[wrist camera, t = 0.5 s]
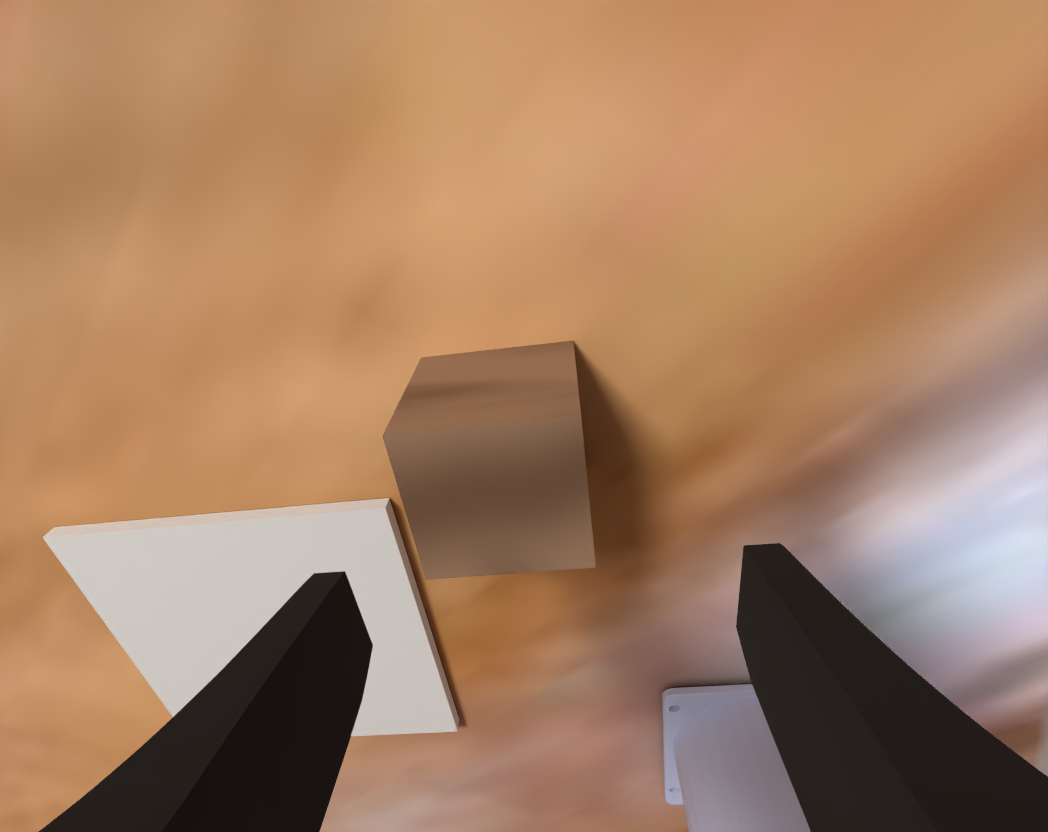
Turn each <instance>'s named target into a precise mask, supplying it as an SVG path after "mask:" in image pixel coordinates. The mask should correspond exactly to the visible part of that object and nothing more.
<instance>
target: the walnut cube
mask: <svg viewBox="0 0 1048 832" xmlns="http://www.w3.org/2000/svg"><path fill="white" fill-rule="evenodd" d="M383 439H384V442H385V445H386V449H387V452H388V455H389V459H390V462H391V465H392V469H393V472H394V475H395V479H396V482H397V485H398V489H399V492H400V495H401V499H402V502H403V505H404V508H405V512H406V515H407V518H408V522H409V525H410V528H411V532H412V535H413V538H414V542H415V545H416V548H417V552H418V555H419V558H420V562H421V565H422V568H423V571H424V575H425V578H426V580H427V579H442V578H456V577H470V576H484V575H498V574H512V573H527V572H541V571H555V570H569V569H583V568H596V564H595V553H594V543H593V532H592V522H591V512H590V501H589V491H588V480H587V470H586V460H585V449H584V439H583V429H582V418H581V409H580V399H579V389H578V380H577V370H576V361H575V351H574V342H573V341H567V342H558V343H549V344H540V345H531V346H522V347H513V348H504V349H495V350H486V351H477V352H468V353H459V354H450V355H441V356H432V357H423V358H421V359H420V361H419V363H418V365H417V367H416V369H415V372H414V374H413V376H412V378H411V380H410V382H409V384H408V386H407V388H406V390H405V392H404V394H403V396H402V398H401V400H400V402H399V404H398V406H397V408H396V410H395V412H394V414H393V416H392V418H391V420H390V422H389V424H388V426H387V428H386V430H385V432H384V434H383Z"/></svg>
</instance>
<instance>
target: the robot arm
mask: <svg viewBox="0 0 1048 832" xmlns="http://www.w3.org/2000/svg"><path fill="white" fill-rule="evenodd" d="M736 627H737V631H738V635H739V639H740V642H741V646H742V650H743V654H744V657H745V661H746V664H747V668H748V671H749V675H750V678H751V682H752V684H742V685H722V686H702V687H683V688H670V689H667V690H665V691H664V692H663V694H662V718H663V763H664V795H665V800H666V802H668V803H669V804H674V805H677V804H684V809H685V814H686V819H687V825H688V830H689V832H1048V777H1047V776H1046V775H1045V774H1043V773H1042V772H1040V771H1039V770H1038V769H1036V768H1035V767H1034V766H1032V765H1031V764H1030V763H1028V762H1027V761H1026V760H1024V759H1023V758H1022V757H1020V756H1019V755H1018V754H1016V753H1015V752H1014V751H1013V750H1011V749H1010V748H1009V747H1007V746H1006V745H1005V744H1003V743H1002V742H1001V741H999V740H998V739H997V738H995V737H994V736H993V735H992V734H990V733H989V732H988V731H987V730H985V729H984V728H983V727H982V726H980V725H979V724H978V723H976V722H975V721H974V720H973V719H971V718H970V717H969V716H968V715H967V714H965V713H964V712H963V711H962V710H960V709H959V708H958V707H957V706H956V705H954V704H953V703H952V702H951V701H949V700H948V699H947V698H946V697H945V696H944V695H942V694H941V693H940V692H939V691H938V690H936V689H935V688H934V687H933V686H932V685H931V684H929V683H928V682H927V681H926V680H925V679H923V678H922V677H921V676H920V675H919V674H918V673H916V672H915V671H914V670H913V669H912V668H911V667H910V666H908V665H907V664H906V663H905V662H904V661H903V660H902V659H901V658H899V657H898V656H897V655H896V654H895V653H894V652H893V651H892V650H891V649H889V648H888V647H887V646H886V645H885V644H884V643H883V642H882V641H881V640H880V639H879V638H878V637H876V636H875V635H874V634H873V633H872V632H871V631H870V630H869V629H868V628H867V627H866V626H864V625H863V624H862V623H861V622H860V621H859V620H858V619H857V618H856V617H855V616H854V615H853V614H852V613H851V612H850V611H849V610H848V609H846V608H845V607H844V606H843V605H842V604H841V603H840V602H839V601H838V600H837V599H836V598H835V597H834V596H833V595H832V594H831V593H830V592H829V591H828V590H827V589H826V588H825V587H824V586H823V585H822V584H821V583H820V582H819V581H818V580H817V579H816V578H815V577H814V576H813V575H812V574H811V573H810V572H809V571H808V570H807V569H806V568H805V567H804V566H803V565H802V564H801V563H800V562H799V561H798V560H797V559H796V558H795V557H794V556H793V555H792V554H791V553H790V552H789V551H788V550H787V549H786V548H785V547H784V546H783V545H781V544H780V543H777V544H762V545H746V546H744V548H743V559H742V570H741V581H740V592H739V603H738V614H737V625H736ZM372 648H373V644H372V641H371V639H370V636H369V634H368V631H367V628H366V626H365V623H364V620H363V618H362V615H361V612H360V610H359V607H358V604H357V602H356V599H355V596H354V594H353V591H352V588H351V586H350V583H349V580H348V578H347V575H346V572H345V571H342V572H326V573H314V574H313V575H312V576H311V577H310V578H309V579H308V580H307V581H306V582H305V583H304V584H303V585H302V586H301V587H300V588H299V589H298V590H297V591H296V592H295V593H294V594H293V595H292V596H291V597H290V598H289V600H288V601H287V602H286V603H285V604H284V605H283V606H282V607H281V608H280V609H279V610H278V611H277V612H276V613H275V615H274V616H273V617H272V618H271V619H270V620H269V621H268V622H267V623H266V624H265V625H264V626H263V627H262V628H261V629H260V631H259V632H258V633H257V634H256V635H255V636H254V637H253V638H252V639H251V640H250V641H249V642H248V643H247V644H246V645H245V646H244V647H243V648H242V649H241V650H240V651H239V652H238V653H237V654H236V656H235V657H234V658H233V659H232V660H231V661H230V662H229V663H228V664H227V665H226V666H225V667H224V668H223V669H222V670H221V671H220V672H219V673H218V674H217V675H216V676H215V677H214V678H213V679H212V680H211V681H210V682H209V683H208V684H207V685H206V686H205V687H204V688H203V689H202V690H201V691H200V692H199V693H198V694H196V695H195V696H194V697H193V698H192V699H191V700H190V701H189V702H188V703H187V704H186V705H185V706H184V707H183V708H182V709H181V710H180V711H179V712H178V713H177V714H176V715H175V716H174V717H173V718H172V719H171V720H170V721H169V722H168V723H167V724H166V725H165V726H164V727H162V728H161V729H160V730H159V731H158V732H157V733H156V734H155V735H154V736H153V737H152V738H150V739H149V740H148V741H147V742H146V743H145V744H144V745H143V746H142V747H140V748H139V749H138V750H137V751H136V752H135V753H134V754H133V755H131V756H130V757H129V758H128V759H127V760H126V761H125V762H123V763H122V764H121V765H120V766H119V767H118V768H116V769H115V770H114V771H113V772H112V773H111V774H109V775H108V776H107V777H106V778H105V779H104V780H102V781H101V782H100V783H99V784H98V785H97V786H95V787H94V788H93V789H92V790H91V791H89V792H88V793H87V794H86V795H85V796H83V797H82V798H81V799H80V800H79V801H77V802H76V803H75V804H74V805H72V806H71V807H70V808H68V809H67V810H66V811H65V812H63V813H62V814H61V815H60V816H58V817H57V818H56V819H54V820H53V821H52V822H51V823H49V824H48V825H47V826H45V827H44V828H43V829H42V830H40V831H39V832H319V831H320V828H321V825H322V822H323V819H324V816H325V813H326V810H327V807H328V804H329V801H330V798H331V795H332V792H333V789H334V786H335V783H336V780H337V777H338V774H339V771H340V768H341V765H342V762H343V759H344V756H345V752H346V749H347V746H348V743H349V740H350V737H351V734H352V731H353V728H354V725H355V722H356V718H357V715H358V712H359V709H360V706H361V702H362V698H363V694H364V689H365V684H366V680H367V675H368V669H369V664H370V659H371V653H372Z"/></svg>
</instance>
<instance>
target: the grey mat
mask: <svg viewBox="0 0 1048 832" xmlns="http://www.w3.org/2000/svg"><path fill="white" fill-rule="evenodd" d="M43 539H44V540H45V541H46V543H47V544H48V545H49V547H50V548H51V550H52V551H53V552H54V554H55V555H56V557H57V558H58V559H59V561H60V562H61V563H62V565H63V566H64V568H65V569H66V570H67V572H68V573H69V574H70V576H71V577H72V579H73V580H74V581H75V583H76V584H77V585H78V587H79V588H80V590H81V591H82V592H83V594H84V595H85V596H86V598H87V599H88V601H89V602H90V603H91V605H92V606H93V607H94V609H95V610H96V612H97V613H98V614H99V616H100V617H101V618H102V620H103V621H104V623H105V624H106V625H107V627H108V628H109V629H110V631H111V632H112V634H113V635H114V636H115V638H116V639H117V640H118V642H119V643H120V645H121V646H122V647H123V649H124V650H125V652H126V653H127V654H128V656H129V657H130V658H131V660H132V661H133V663H134V664H135V665H136V667H137V668H138V669H139V671H140V672H141V674H142V675H143V676H144V678H145V679H146V680H147V682H148V683H149V685H150V686H151V687H152V689H153V690H154V691H155V693H156V694H157V696H158V697H159V698H160V700H161V701H162V702H163V704H164V705H165V707H166V708H167V709H168V711H169V712H170V713H171V715H172V716H173V717H174V716H175V715H176V714H177V713H178V712H179V711H180V710H181V709H182V708H183V707H184V706H185V705H186V704H187V703H188V702H189V701H190V700H191V699H192V698H193V697H194V696H195V695H196V694H198V693H199V692H200V691H201V690H202V689H203V688H204V687H205V686H206V685H207V684H208V683H209V682H210V681H211V680H212V679H213V678H214V677H215V676H216V675H217V674H218V673H219V672H220V671H221V670H222V669H223V668H224V667H225V666H226V665H227V664H228V663H229V662H230V661H231V660H232V659H233V658H234V657H235V656H236V654H237V653H238V652H239V651H240V650H241V649H242V648H243V647H244V646H245V645H246V644H247V643H248V642H249V641H250V640H251V639H252V638H253V637H254V636H255V635H256V634H257V633H258V632H259V631H260V629H261V628H262V627H263V626H264V625H265V624H266V623H267V622H268V621H269V620H270V619H271V618H272V617H273V616H274V615H275V613H276V612H277V611H278V610H279V609H280V608H281V607H282V606H283V605H284V604H285V603H286V602H287V601H288V600H289V598H290V597H291V596H292V595H293V594H294V593H295V592H296V591H297V590H298V589H299V588H300V587H301V586H302V585H303V584H304V583H305V582H306V581H307V580H308V579H309V578H310V577H311V576H312V575H313V574H314V573H326V572H342V571H345V572H346V575H347V578H348V580H349V583H350V586H351V588H352V591H353V594H354V596H355V599H356V602H357V604H358V607H359V610H360V612H361V615H362V618H363V620H364V623H365V626H366V628H367V631H368V634H369V636H370V639H371V641H372V644H373V648H372V653H371V659H370V664H369V669H368V675H367V680H366V684H365V689H364V694H363V698H362V702H361V706H360V709H359V712H358V715H357V718H356V722H355V725H354V728H353V731H352V734H351V736H366V735H388V734H411V733H433V732H455V731H458V725H459V717H458V714H457V711H456V708H455V705H454V701H453V698H452V695H451V692H450V689H449V686H448V682H447V679H446V676H445V673H444V670H443V667H442V663H441V660H440V657H439V654H438V651H437V648H436V644H435V641H434V638H433V635H432V632H431V629H430V625H429V622H428V619H427V616H426V613H425V610H424V606H423V603H422V600H421V597H420V594H419V591H418V587H417V584H416V581H415V578H414V575H413V572H412V568H411V565H410V562H409V559H408V556H407V553H406V549H405V546H404V543H403V540H402V537H401V534H400V530H399V527H398V524H397V521H396V518H395V514H394V511H393V508H392V505H391V502H390V499H389V498H384V499H372V500H361V501H349V502H338V503H326V504H315V505H304V506H292V507H281V508H269V509H258V510H246V511H235V512H224V513H212V514H201V515H189V516H178V517H166V518H155V519H143V520H132V521H121V522H109V523H98V524H86V525H75V526H63V527H54V528H53V529H52V530H51V531H49V532H48V533H47V534H46V535H45V536H44V537H43Z"/></svg>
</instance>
